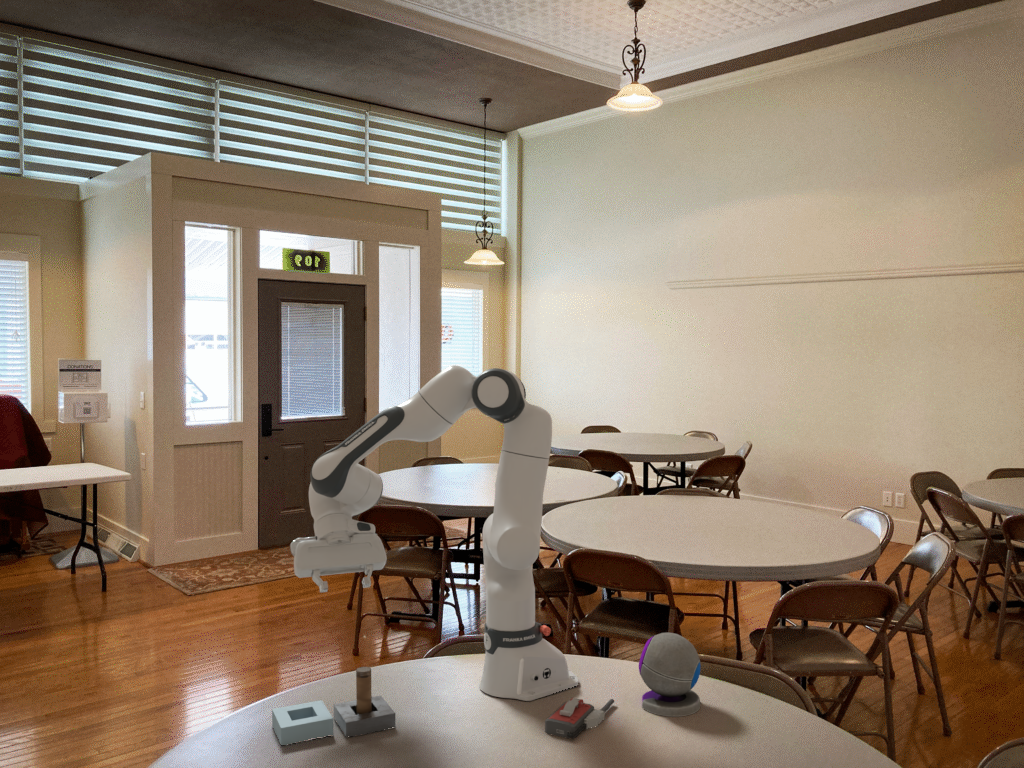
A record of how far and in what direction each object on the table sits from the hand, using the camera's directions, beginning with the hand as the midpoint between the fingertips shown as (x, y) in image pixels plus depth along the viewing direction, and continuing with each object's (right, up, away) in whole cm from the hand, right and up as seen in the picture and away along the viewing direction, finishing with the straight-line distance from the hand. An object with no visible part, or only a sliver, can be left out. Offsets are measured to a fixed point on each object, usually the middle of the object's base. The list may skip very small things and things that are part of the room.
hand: (346, 588), depth 178 cm
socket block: (+6, -24, -12) cm, 28 cm away
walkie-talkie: (+50, -25, -11) cm, 57 cm away
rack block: (-6, -25, -15) cm, 29 cm away
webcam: (+70, -24, -3) cm, 74 cm away
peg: (+6, -24, -12) cm, 28 cm away
